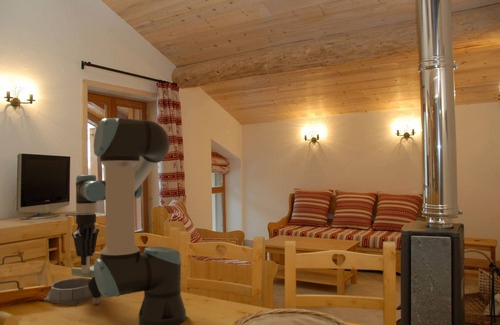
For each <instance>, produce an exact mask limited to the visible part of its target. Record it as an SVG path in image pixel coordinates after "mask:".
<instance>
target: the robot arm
mask: <svg viewBox="0 0 500 325" xmlns="http://www.w3.org/2000/svg"><path fill="white" fill-rule="evenodd" d="M170 144H171V142H170V138H169V135H168V133H167V131H166V130H165V128H164V127H163V126H162V125H161V124H159V123H158V122H156V121H153V120H149V119H133V118H122V117H105V118H102V119H101V120H100V121H99V123H98V124H97V127H96V129H95V133H94V138H93V152H94V153H93V154H94V155H95V156H97V157H99V160H100V162H99V163H100V164H101V165H103V166H104V168H105V170H104V171H105V180H97V176H96V175H94V174H79V175H76V177H75V178H76V179H75V213H76V215H75V224H76V225H77V226H76V231H75V232H72V233H71V237H72V238H73V242H74V243H73V244H74V248H75V253H76V256H77V257H80V265H81V268H82V273H90V267H91V260H92V258H91V257H92V256H94V254H95V253H96V245H97V240H98V235H99V232H100V229H99V228H96V225H95V223H96V222H97V214H96V212H97V202H100V201H105V246H104V247H103V248H102V249H101V250H100V253H99V254H100V256H99V257H98V258H96V259H95V260H94V262H93V266H94V275H95V280H96V284H97V287H98V290H99V292H100V293H101V296H103V297H104V298H112V297H120V296H124V295H129V294H136V293H141V292H143V300H142V303H141V306H140V309H139V311H138V323H139V324H140V325H180V324H182V323H184V322H185V321H186V318H187V310H186V307H185V304H184V301H183V297H182V292H181V285H182V282H181V281H182V280H181V279H182V278H181V277H182V276H181V275H182V260H181V257H182V256H181V252H180V251H178V249H175V248H172V247H165V246H164V247H163V246H148V247H147V246H146V247H145V248H144V250H143V252H142V253H141V252H140V251H141V249H140V248H139V247H138V246H137V245H136V243H135V242H136V241H135V240H136V239H135V238H136V237H135V235H136V234H135V232H136V229H135V227H136V223H135V222H136V221H135V220H136V219H135V217H136V215H135V211H136V210H135V204H136V203H135V202H136V201H135V200H136V199H139V198H140V197H141V196H142V193H143V185H142V184H143V183H144V181H145V180H146V179H147V177H148V176H149V175H150V173H151V172H152V171H153V169H154V168H155V166H157V164H158V163H160V162H163V160H164V159H165V158H166V157H167V155H168V154H169V150H170Z"/></svg>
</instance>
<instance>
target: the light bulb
mask: <svg viewBox="0 0 500 325" xmlns="http://www.w3.org/2000/svg"><path fill="white" fill-rule="evenodd" d="M90 279H91V280H90V281H89V283H88V288H89V290H90V292H91V294H92V297H91V298H92V303H93V304H94V305H95V306H97V305H98V304H99V303H101V296H102V294H101V293H100V292H99V290H98V287H97V284H96V280H95V277H93V278H90Z"/></svg>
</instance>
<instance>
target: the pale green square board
mask: <svg viewBox="0 0 500 325" xmlns="http://www.w3.org/2000/svg"><path fill="white" fill-rule="evenodd" d="M71 276H74V277H79V278H88V279H92V278H93V277H95V275H94V265H90V273H82V267H71Z"/></svg>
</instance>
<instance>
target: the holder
mask: <svg viewBox="0 0 500 325" xmlns="http://www.w3.org/2000/svg"><path fill="white" fill-rule="evenodd" d="M91 279H92V278H88V277H75V278H74V277H73V278H66V279H59V280H57V281H54V282H51V284H52V287H51V289H50V291H49V290H48V293H47V294H46V295H47V297H46V298H44V299H43V300H44V301H43V302H49V303H54V304H59V305H61V304H62V305H68V306H75V305H78V304H80V303H82V302H85V301H87V300H89V299H92V298H93V297H92V294H91V292H90V290H89V288H88V283H89V281H90V280H91Z"/></svg>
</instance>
